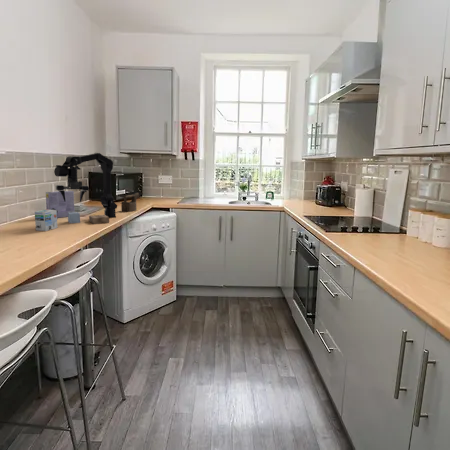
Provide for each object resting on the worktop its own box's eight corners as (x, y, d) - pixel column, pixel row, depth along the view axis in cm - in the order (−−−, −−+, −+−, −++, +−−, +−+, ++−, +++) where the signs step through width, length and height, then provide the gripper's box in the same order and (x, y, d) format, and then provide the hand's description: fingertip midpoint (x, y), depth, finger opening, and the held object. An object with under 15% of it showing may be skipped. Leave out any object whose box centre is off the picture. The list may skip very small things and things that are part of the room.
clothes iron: (142, 209, 292) (142, 193, 290) (128, 212, 278) (128, 194, 276) (134, 208, 296) (134, 192, 293) (120, 211, 282) (120, 193, 279)
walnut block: (105, 220, 241) (104, 214, 241) (109, 223, 233) (108, 217, 232) (89, 221, 236) (89, 215, 235) (93, 224, 228) (92, 218, 227)
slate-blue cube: (78, 221, 236) (77, 212, 235) (80, 222, 231) (79, 213, 230) (68, 221, 233) (67, 212, 232) (70, 223, 228) (69, 214, 227)
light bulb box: (45, 231, 203) (44, 212, 201) (35, 230, 204) (33, 211, 202) (58, 227, 213) (57, 209, 211) (48, 227, 215) (46, 209, 213)
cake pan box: (72, 214, 259) (71, 190, 256) (76, 215, 256) (75, 190, 253) (46, 218, 243) (44, 191, 240) (50, 219, 241) (48, 192, 237)
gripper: (58, 176, 215) (58, 203, 218) (91, 177, 225) (91, 202, 228) (55, 176, 225) (55, 201, 227) (87, 176, 235) (87, 201, 237)
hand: (72, 201), depth 230 cm, fingers open, 9 cm apart
